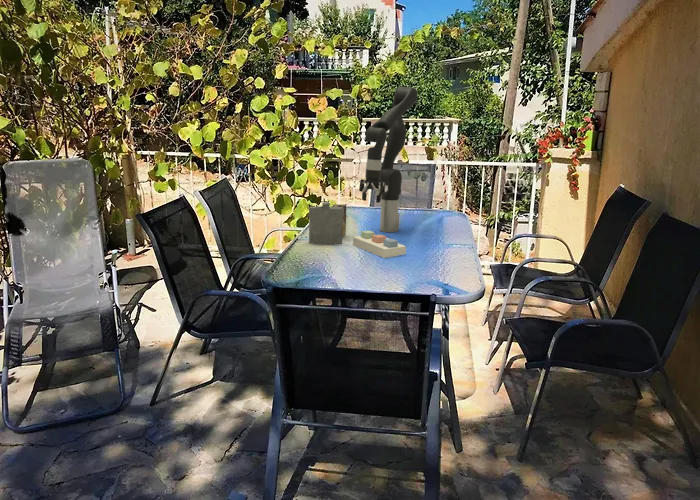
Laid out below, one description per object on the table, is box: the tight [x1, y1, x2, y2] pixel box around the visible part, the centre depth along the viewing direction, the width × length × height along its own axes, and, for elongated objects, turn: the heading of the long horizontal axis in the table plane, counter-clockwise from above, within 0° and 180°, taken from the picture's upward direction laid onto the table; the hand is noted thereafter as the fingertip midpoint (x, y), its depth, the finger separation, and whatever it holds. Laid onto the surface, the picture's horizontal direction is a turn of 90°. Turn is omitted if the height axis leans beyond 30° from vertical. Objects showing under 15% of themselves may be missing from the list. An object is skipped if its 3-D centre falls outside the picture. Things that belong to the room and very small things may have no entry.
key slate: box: [383, 238, 399, 248], centre depth 241 cm, size 5×5×3 cm
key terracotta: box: [372, 234, 387, 243], centre depth 248 cm, size 5×5×3 cm
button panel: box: [352, 235, 407, 259], centre depth 249 cm, size 12×26×4 cm, turn 33°
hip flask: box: [308, 201, 343, 245], centre depth 256 cm, size 16×4×20 cm, turn 92°
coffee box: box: [331, 203, 347, 240], centre depth 269 cm, size 9×6×16 cm
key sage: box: [360, 230, 376, 239], centre depth 256 cm, size 5×5×3 cm
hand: (371, 201), depth 268 cm, fingers open, 8 cm apart
